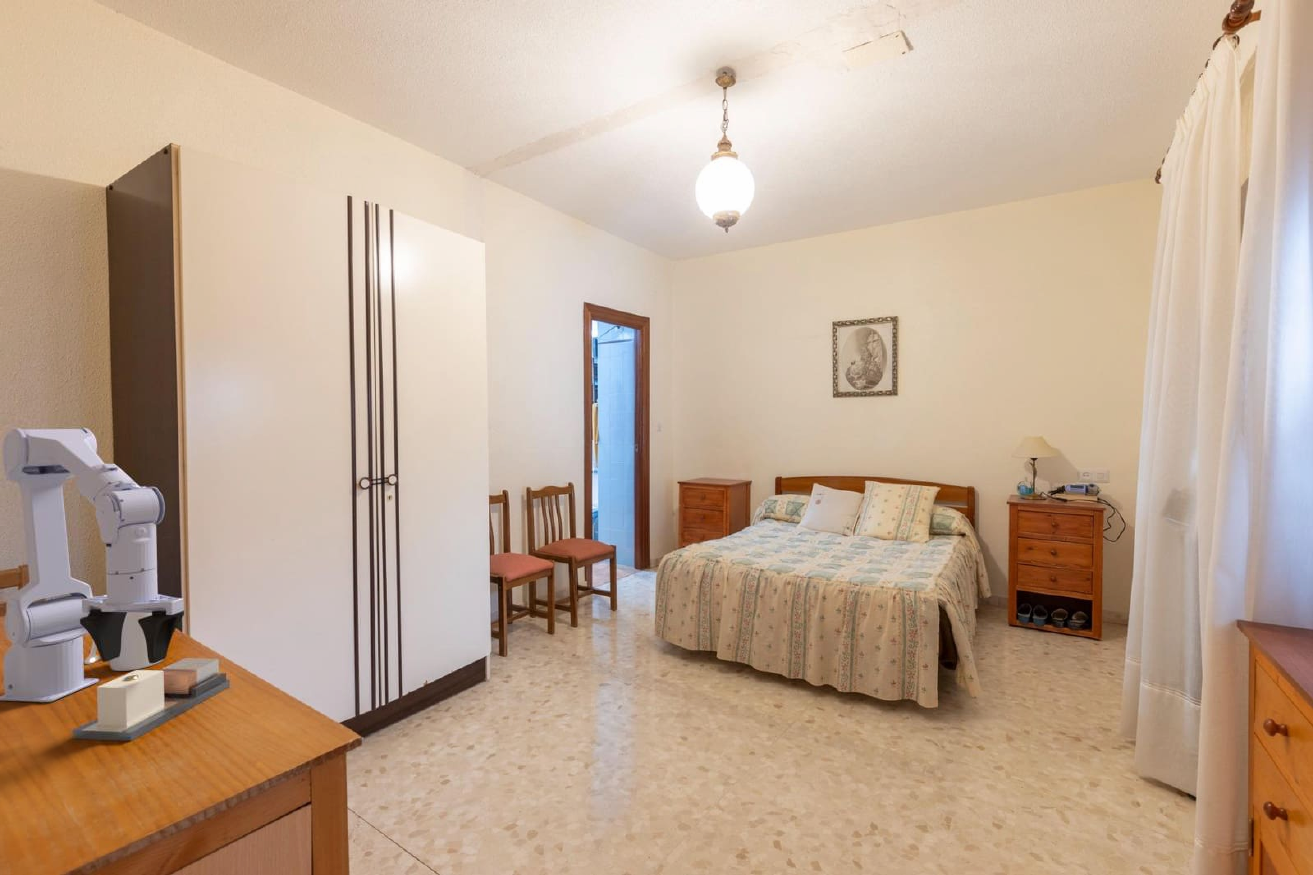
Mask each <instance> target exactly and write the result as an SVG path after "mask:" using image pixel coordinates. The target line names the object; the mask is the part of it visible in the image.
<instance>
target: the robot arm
mask: <svg viewBox="0 0 1313 875" xmlns="http://www.w3.org/2000/svg"><path fill="white" fill-rule="evenodd" d="M1 449H2V450H1V452H2V463H3V471H4V474H5V479H6V480H7V481H10V482H13V483H17V484H18V485H19V490H20V491H19V492H20V496H21V503H22V505H21V506H22V514H23V524H24V537H25V546H26V548H25V549H26V558H27V559H26V560H27V570H28V579H29V582H27V583H26V585H24V586H23V587H22V588H20V589H19V590H17V591H16V592H15V593H13V594H12V595H11V596H10V597H9V598H8V599H7V601H6V609H5V610H6V612H5V616H4V631H5V634H6V637H7V639H8V640H9V641H10V642H11V643H13V644H12V645H11V646H10V647H9V649H8V650H7V651H6V653H5V655H4V658H3V661H2V662H3V663H2V664H3V688H4V689H3V692H4V694H3V695H1V696H0V701H8V702H11V701H12V702H31V703H32V702H34V703H37V702H39V703H50V702H54V701H56V700H58V699H62V698H63V697H65V696H68V695H70V694H73V693H75V692H77V691H80V690H83V689H85V688H87V687H90V686H92V685H93V684H96V683H99V680H100V679H99V678H94V677H93V678H92V677H91V678H89V677H85V674H84V671H85V669H84V665H85V664H84V639H83V638H84V636H83V635H87V634H88V633H89V636H90V637H91V639H92V641H93V640H94V642H95V645H96V647H97V649H96V650H97V651H98V652H97V653H98V654H99V658H100V659H101V661H102V662H103V663H107V662H110V660H112V659H115V658H117V657H119V656H120V652H121V638H122V629H123V624H124V620H125V617H126V614H127V612H140V613H152V616H151V615H150V616H147V617H144V618H141V619H139V620H138V623H139V625H140V626H141V628H142V630H143V633H144V636H145V639H146V645H147V656H148V660H149V663H156V662H159V661H161V660H162V661H163V659H164V660H165V659H166V658H167V655H168V654H167V653H168V651H169V648H170V644H171V641H172V638H173V635H174V633H175V631H176V628H177V627H178V625H179V623H180V621H181V620H182V618H183V617H184V615H185V610H184V598H183V597H182V598H181V597H173V596H168V595H164V594H159V592H158V557H157V556H158V555H157V554H158V552H157V550H158V549H157V525H159V524H160V523H161V522H162V521H163V519H164V517H165V510H166V506H165V505H166V504H165V500H164V496H163V494H162V493H161V492H160V490H159V489H158V487H155V486H140V485H139V484H138V483H136V481H134V480H133V479H132V478H131V476H129V475H128V474H127V473H126V472H125V471H124V470H123V469H121V468H120V467H119V466H118V465H116V464H115V463H105V462H104V461H103V459H101V457H100V456H99V455H98V454H97V451H98V442H97V438H96V436H95V434H94V433H93V432H92V431H91V430H90V429H89V428H87V427H79V428H40V429H39V428H36V429H35V428H31V429H29V428H27V429H25V428H24V429H22V428H12V429H10V431H8V433H6V434H5V436H4V439H3V443H2V448H1ZM75 477H76V478H77V480H76V488H77V490H78V492H79V493H80V494H82V495H83V497H84V498H85V499H86V500H87V501H88V502H90V504H92V506H93V507H94V508H95V510H94V513H95V519H96V523H97V524H98V527H99V536H100V537H99V538H101V542H103V543H105V576H106V579H105V581H106V582H105V584H106V587H105V588H106V595H107V596H102V595H95V596H94V595H93V591H92V588H91V585H90V584H88V583H86V582H84V581H82V580H78V579H76V578H73V577H72V575H71V565H70V556H69V545H68V537H67V536H68V535H67V525H66V524H67V523H66V522H67V521H66V514H65V505H64V504H65V502H64V494H63V486H64V484H65V483H66V482H67V481H68V480H70V479H72V478H75ZM64 595H67V596H64ZM59 596H61V597H59ZM54 597H56V598H54ZM48 598H52V599H48ZM42 599H45V600H42ZM46 599H47V600H46ZM40 600H41V601H40ZM162 661H161V662H162ZM159 663H160V662H159Z"/></svg>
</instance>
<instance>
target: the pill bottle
mask: <svg viewBox="0 0 1313 875" xmlns="http://www.w3.org/2000/svg"><path fill="white" fill-rule="evenodd" d="M150 615H151V616H152V613H140V612H127V614H126V617H125V620H124V624H123V629H122V638H121V652H120V656H119V657H117V658H115V659H112V660H110V661H109V668H110V669H111V670H113V671H116V672H117V671H118V672H126V671H135V670H142V669H145V668H148V667H151V666H154V665H157V664H159V663H161V662H162V661H163V660H165V659H163V660H161V661H159V662H156V663H149V660H148V656H147V645H146V639H145V636H144V633H143V630H142V628H141V626H140V625H139V623H138V620H139V619H141V618H144V617H147V616H150Z"/></svg>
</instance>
